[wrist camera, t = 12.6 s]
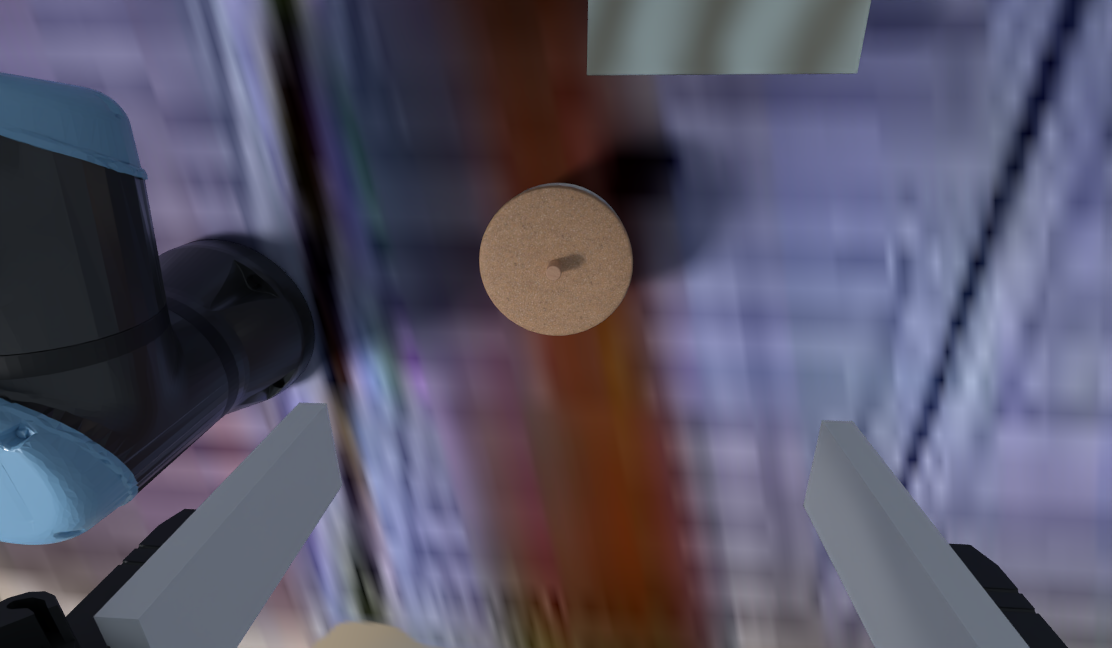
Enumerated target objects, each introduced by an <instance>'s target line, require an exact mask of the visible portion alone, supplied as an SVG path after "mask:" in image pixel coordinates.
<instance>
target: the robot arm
mask: <svg viewBox="0 0 1112 648" xmlns="http://www.w3.org/2000/svg"><path fill="white" fill-rule="evenodd" d="M146 179H148V177H147V173H146V172H145V170H144V169H142V168H141V165H140V161H139V157H138V153H137V149H136V145H135V141H134V137H133V133H132V129H131V125H130V122H129V119H128V117H127V115H126V113H125V112H124V111H123V109H122V108H121V107H120V106H119V105H118V104H117V103H116V102H115V101H114V100H112V99H111V98H110V97H108V96H107V95H105V94H103V93H101V92H99V91H96V90H94V89H90V88H86V87H81V86H76V85H71V84H65V83H59V82H54V81H48V80H42V79H36V78H30V77H24V76H18V75H13V74H7V73H1V72H0V541H2V542H8V543H16V544H26V545H39V544H50V543H56V542H61V541H65V540H68V539H71V538H73V537H76V536H78V535H80V534H82V533H84V532H86V531H87V530H89V529H90V528H92V527H93V526H94V525H96V524H97V523H98V522H99V521H101V520H102V519H103V518H105V517H106V516H107V515H109V514H110V513H111V512H113V511H114V510H115V509H117V508H118V507H120V506H123V505H125V504H126V503H128V502H129V501H131V500H132V499H133V498H134V497H135V496H136V494H137V493H138V492H140V491H141V490H142V489H143V488H144V487H145V486H146V485H147V484H148V483H150V482H151V481H152V480H153V479H154V478H155V477H156V476H157V475H158V474H160V473H161V472H162V471H163V470H164V469H165V468H166V467H167V466H168V465H170V464H171V463H172V462H173V461H174V460H175V459H176V458H177V457H178V456H180V455H181V454H182V453H183V452H184V451H185V450H186V449H187V448H188V447H189V446H191V445H192V444H193V443H194V442H195V441H196V440H197V439H198V438H199V437H201V436H202V435H203V434H204V433H205V432H206V431H207V430H208V429H209V428H211V427H212V426H213V425H214V424H215V423H216V422H217V421H218V420H220V419H221V418H222V417H223V416H224V415H226V414H229V413H231V412H234V411H237V410H240V409H243V408H246V407H249V406H251V405H254V404H257V403H260V402H263V401H265V400H268V399H270V398H272V397H274V396H276V395H277V394H279V393H281V392H282V391H283V390H285V389H286V388H287V387H288V386H289V385H290V384H291V383H292V382H293V381H294V380H296V379H297V378H298V377H299V376H300V375H301V373H302V372H303V371H304V370H305V368H306V366H307V365H308V363H309V361H310V358H311V355H312V352H313V347H314V326H313V321H312V317H311V314H310V311H309V308H308V306H307V303H306V301H305V299H304V297H303V296H302V294H301V292H300V291H299V289H298V288H297V286H296V285H295V284H294V282H293V281H292V280H291V279H290V278H289V276H288V275H287V274H286V273H285V272H284V271H283V270H282V269H281V268H279V267H278V266H277V265H276V264H275V263H273V262H272V261H271V260H269V259H268V258H266V257H265V256H263V255H261V254H260V253H258V252H256V251H254V250H252V249H250V248H247V247H245V246H242V245H239V244H236V243H232V242H227V241H221V240H201V241H195V242H191V243H188V244H185V245H182V246H180V247H177V248H174V249H172V250H169V251H167V252H165V253H163V254H161V255H160V256H158V250H157V245H156V239H155V234H154V228H153V223H152V217H151V212H150V206H149V201H148V195H147V190H146V184H145V180H146ZM341 486H342V481H341V476H340V470H339V465H338V460H337V455H336V450H335V445H334V439H333V434H332V429H331V424H330V419H329V414H328V408H327V404H322V403H299V404H298V405H297V406H296V407H295V408H294V409H293V410H292V411H291V412H290V413H289V414H288V415H287V416H286V417H285V418H284V419H283V420H282V421H281V422H280V423H279V424H278V425H277V427H276V428H275V429H274V430H273V431H272V432H271V433H270V434H269V435H268V436H267V437H266V438H265V439H264V440H263V441H262V442H261V443H260V444H259V445H258V446H257V447H256V448H255V449H254V450H253V451H252V452H251V454H250V455H249V456H248V457H247V458H246V459H245V460H244V461H243V462H242V463H241V464H240V465H239V466H238V467H237V468H236V469H235V470H234V471H233V472H232V473H231V474H230V475H229V476H228V477H227V478H226V479H225V481H224V482H223V483H222V484H221V485H220V486H219V487H218V488H217V489H216V490H215V491H214V492H213V493H212V494H211V495H210V496H209V497H208V498H207V499H206V500H205V501H204V502H203V503H202V504H201V505H200V506H199V508H198V509H197V510H195V509H184V510H182V511H181V512H179V513H177V514H176V515H174V516H173V517H171V518H170V519H168V520H166V521H165V522H163V523H162V524H160V525H159V526H158V527H157V528H155V529H154V530H153V531H152V532H151V533H150V534H149V535H148V536H147V537H146V538H145V539H144V540H143V541H142V542H141V543H140V544H139V548H138V549H134V550H133V551H132V552H131V553H130V554H129V555H128V556H127V557H126V558H125V559H124V560H123V563H122V565H118V566H117V567H116V568H115V569H114V570H113V571H112V572H111V573H110V574H109V575H108V576H107V577H106V578H105V579H104V580H103V581H102V582H101V583H100V584H99V585H98V586H97V587H96V588H95V589H94V590H93V591H92V592H91V593H89V594H88V595H87V596H86V597H85V598H84V599H83V600H82V601H81V602H80V603H79V604H78V605H77V606H76V607H75V608H74V609H73V610H72V611H71V612H70V613H69V614H68V615H67V616H66V617H65V615H64V613H63V611H62V609H61V607H60V605H59V603H58V601H57V599H56V597H55V596H54V595H52V594H50V593H48V592H45V591H43V592H28V593H24V594H20V595H17V596H13V597H10V598H7V599H5V600H3V601H1V602H0V648H237V646H238V645H239V643H240V642H241V640H242V639H243V637H244V636H245V634H246V633H247V631H248V630H249V628H250V626H251V625H252V623H253V622H254V620H255V619H256V617H257V616H258V614H259V613H260V611H261V610H262V608H263V606H264V605H265V603H266V602H267V600H268V599H269V597H270V596H271V594H272V593H273V591H274V590H275V588H276V586H277V585H278V583H279V582H280V580H281V579H282V577H283V576H284V574H285V573H286V571H287V570H288V568H289V566H290V565H291V563H292V562H293V560H294V559H295V557H296V556H297V554H298V553H299V551H300V550H301V548H302V546H303V545H304V543H305V542H306V540H307V539H308V537H309V536H310V534H311V533H312V531H313V530H314V528H315V526H316V525H317V523H318V522H319V520H320V519H321V517H322V516H323V514H324V513H325V511H326V510H327V508H328V506H329V505H330V503H331V502H332V500H333V499H334V497H335V496H336V494H337V493H338V491H339V490H340V488H341ZM803 506H804V508H805V509H806V511H807V513H808V515H809V517H810V519H811V521H812V523H813V525H814V527H815V529H816V531H817V533H818V535H819V537H820V539H821V541H822V543H823V545H824V547H825V549H826V551H827V553H828V555H829V557H830V559H831V561H832V563H833V565H834V567H835V569H836V571H837V573H838V575H839V577H840V579H841V581H842V583H843V585H844V587H845V589H846V591H847V593H848V595H849V597H850V599H851V601H852V603H853V605H854V607H855V609H856V611H857V613H858V615H859V617H860V619H861V621H862V623H863V625H864V627H865V629H866V631H867V633H868V635H869V637H870V639H871V641H872V643H873V645H874V647H875V648H1068V647H1067V646H1066V645H1065V644H1064V643H1063V641H1062V640H1061V639H1060V638H1059V637H1058V635H1057V634H1056V633H1055V632H1054V631H1053V630H1052V628H1051V627H1050V626H1049V625H1048V624H1047V623H1046V621H1045V620H1044V619H1043V618H1042V617H1041V616H1040V614H1036V613H1035V610H1034V609H1035V608H1034V607H1033V606H1032V605H1031V604H1030V603H1029V601H1028V600H1027V599H1026V598H1025V597H1024V596H1023V594H1019V593H1018V589H1017V587H1016V586H1015V585H1014V584H1013V583H1012V581H1011V580H1010V579H1009V578H1008V577H1007V576H1006V574H1005V573H1004V572H1003V571H1002V570H1001V569H1000V567H999V566H998V565H997V564H995V563H994V562H993V561H991V560H990V559H989V558H987V557H986V556H984V555H983V554H982V553H980V552H979V551H978V550H976V549H975V548H974V547H972V546H971V545H965V544H948V543H947V541H946V540H945V539H944V537H943V536H942V535H941V534H940V532H939V531H938V530H937V528H936V527H935V526H934V525H933V523H932V522H931V521H930V520H929V518H928V517H927V516H926V514H925V513H924V512H923V511H922V509H921V508H920V507H919V505H918V504H917V503H916V502H915V500H914V499H913V498H912V497H911V495H910V494H909V493H908V491H907V490H906V489H905V488H904V486H903V485H902V484H901V482H900V481H899V480H898V479H897V477H896V476H895V475H894V474H893V472H892V471H891V470H890V468H889V467H888V466H887V465H886V463H885V462H884V461H883V459H882V458H881V457H880V456H879V454H878V453H877V452H876V451H875V449H874V448H873V447H872V445H871V444H870V443H869V442H868V440H867V439H866V438H865V436H864V435H863V434H862V433H861V431H860V430H859V429H858V428H857V426H856V425H855V424H854V422H853V421H824V420H822V423H821V427H820V432H819V436H818V441H817V445H816V450H815V455H814V459H813V464H812V468H811V473H810V477H809V482H808V487H807V491H806V496H805V500H804V505H803Z"/></svg>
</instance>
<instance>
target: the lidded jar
mask: <svg viewBox="0 0 1112 648" xmlns="http://www.w3.org/2000/svg"><path fill="white" fill-rule="evenodd" d="M479 265H480V273H481V277H482V281H483V284H484V287H485V289H486V291H487V294H488V295H489V297H490V298H491V300H492V302H493V303H494V304H495V306H496V307H497V308H498V309H499V310H500V312H502V313H503V314H504V315H505V316H506V317H507V318H508V319H510V320H511V321H513V322H514V323H516V324H517V325H519V326H521V327H523V328H525V329H527V330H529V331H533V332H536V333H539V334H545V335H570V334H576V333H579V332H582V331H586V330H588V329H590V328H592V327H594V326H596V325H598V324H599V323H601V322H602V321H604V320H605V319H606V318H607V317H609V316H610V315H611V314H612V313H613V312H614V311H615V309H616V308H617V307H618V306H619V305H620V303H621V302H622V300H623V298H624V296H625V295H626V293H627V290H628V287H629V285H630V282H631V277H632V272H633V255H632V248H631V244H630V240H629V237H628V234H627V232H626V230H625V228H624V226H623V224H622V222H621V221H620V219H619V217H618V215H617V214H616V213H615V211H614V210H613V208H612V207H611V206H610V205H609V204H608V203H607V202H606V201H605V200H604V199H602V198H601V197H599V196H598V195H597V194H595V193H594V192H592V191H590V190H588V189H586V188H584V187H581V186H577V185H574V184H568V183H548V184H543V185H538V186H535V187H533V188H530V189H527V190H526V191H524V192H522V193H520V194H518V195H517V196H515V197H514V198H512V199H511V200H510V201H508V202H507V203H506V204H505V205H503V206H502V208H501V209H500V210H499V211H498V212H497V213H496V214H495V215H494V217H493V218H492V220H491V221H490V223H489V224H488V226H487V228H486V231H485V233H484V235H483V238H482V242H481V246H480V255H479Z"/></svg>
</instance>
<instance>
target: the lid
mask: <svg viewBox="0 0 1112 648" xmlns="http://www.w3.org/2000/svg"><path fill="white" fill-rule="evenodd" d="M870 4H871V0H588V43H587V75H739V74H853V73H857V71H858V66H859V61H860V56H861V51H862V45H863V40H864V35H865V30H866V25H867V19H868V14H869V9H870Z"/></svg>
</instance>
